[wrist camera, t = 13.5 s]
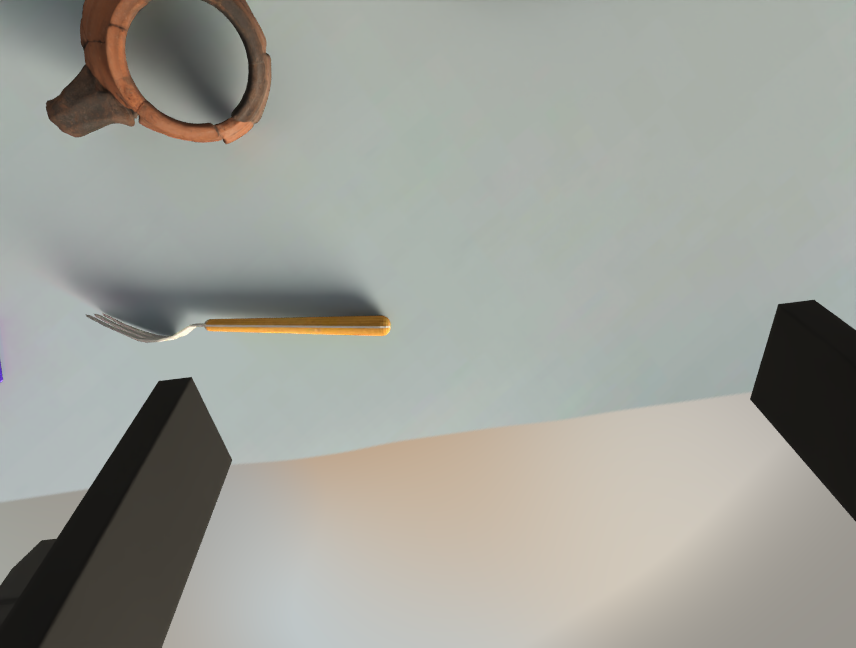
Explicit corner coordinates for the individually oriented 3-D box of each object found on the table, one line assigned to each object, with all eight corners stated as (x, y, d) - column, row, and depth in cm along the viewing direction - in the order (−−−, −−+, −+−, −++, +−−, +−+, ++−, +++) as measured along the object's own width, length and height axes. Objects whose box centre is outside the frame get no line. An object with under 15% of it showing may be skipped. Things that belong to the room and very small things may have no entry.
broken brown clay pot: (177, -78, 28) (188, -101, 22) (286, 78, 34) (320, 95, 28) (3, 54, 27) (-37, 70, 21) (146, 189, 34) (147, 231, 27)
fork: (389, 311, 32) (80, 314, 33) (389, 340, 33) (82, 343, 33) (392, 309, 35) (105, 312, 35) (392, 336, 35) (107, 339, 35)
